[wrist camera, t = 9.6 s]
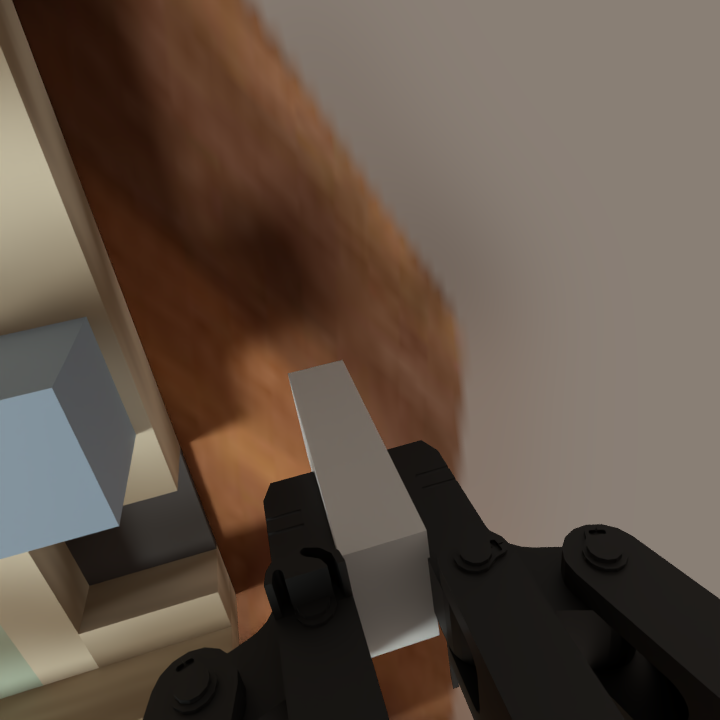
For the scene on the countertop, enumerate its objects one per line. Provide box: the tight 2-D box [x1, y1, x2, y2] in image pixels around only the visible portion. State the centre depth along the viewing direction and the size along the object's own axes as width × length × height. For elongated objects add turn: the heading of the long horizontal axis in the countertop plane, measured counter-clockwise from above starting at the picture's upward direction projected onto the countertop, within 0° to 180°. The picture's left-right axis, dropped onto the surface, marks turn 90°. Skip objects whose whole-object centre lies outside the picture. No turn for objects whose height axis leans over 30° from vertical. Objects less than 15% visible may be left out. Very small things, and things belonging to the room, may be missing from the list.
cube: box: [0, 317, 136, 559], centre depth 14 cm, size 4×4×4 cm
